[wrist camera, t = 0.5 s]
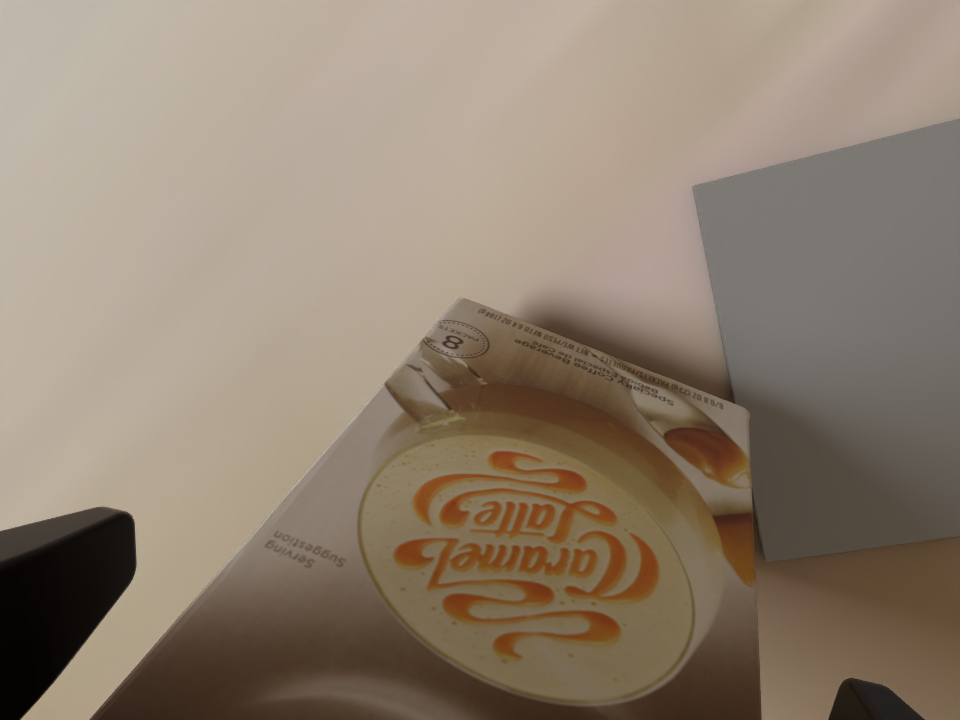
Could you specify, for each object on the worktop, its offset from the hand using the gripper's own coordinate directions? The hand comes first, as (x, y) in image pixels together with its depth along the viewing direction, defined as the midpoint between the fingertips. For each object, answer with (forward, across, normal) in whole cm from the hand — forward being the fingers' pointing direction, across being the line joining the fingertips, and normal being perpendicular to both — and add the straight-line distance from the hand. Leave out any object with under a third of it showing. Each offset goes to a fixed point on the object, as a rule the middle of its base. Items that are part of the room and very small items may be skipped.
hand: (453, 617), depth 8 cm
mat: (+14, -11, -2) cm, 18 cm away
